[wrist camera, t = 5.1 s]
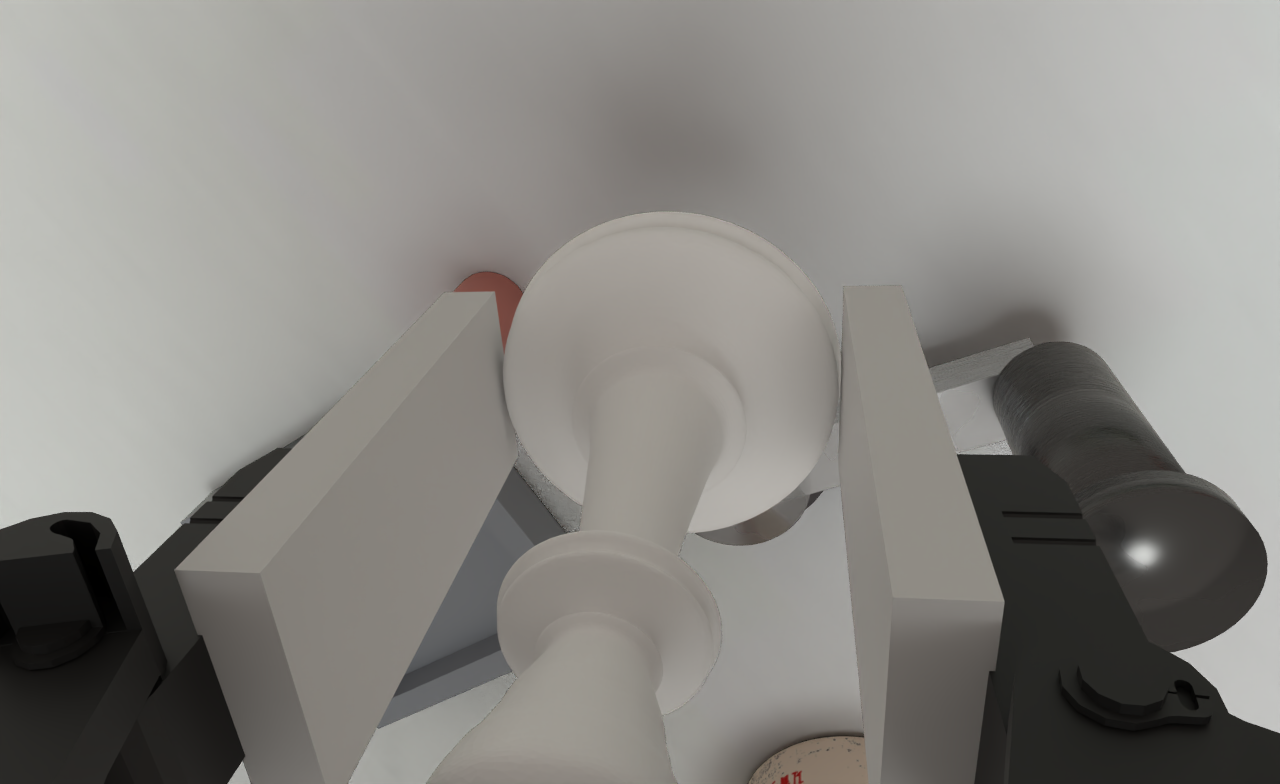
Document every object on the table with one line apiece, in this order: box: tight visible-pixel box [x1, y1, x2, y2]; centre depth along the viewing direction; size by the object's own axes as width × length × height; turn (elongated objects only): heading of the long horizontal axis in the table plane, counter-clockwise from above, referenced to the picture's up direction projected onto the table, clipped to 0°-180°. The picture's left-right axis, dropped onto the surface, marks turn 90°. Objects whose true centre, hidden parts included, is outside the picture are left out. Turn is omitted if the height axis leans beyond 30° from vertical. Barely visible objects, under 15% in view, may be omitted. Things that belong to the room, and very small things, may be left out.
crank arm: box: [696, 337, 1268, 652], centre depth 23 cm, size 13×4×9 cm, turn 114°
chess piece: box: [426, 211, 841, 784], centre depth 9 cm, size 5×5×10 cm
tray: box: [181, 434, 566, 729], centre depth 33 cm, size 11×11×2 cm
